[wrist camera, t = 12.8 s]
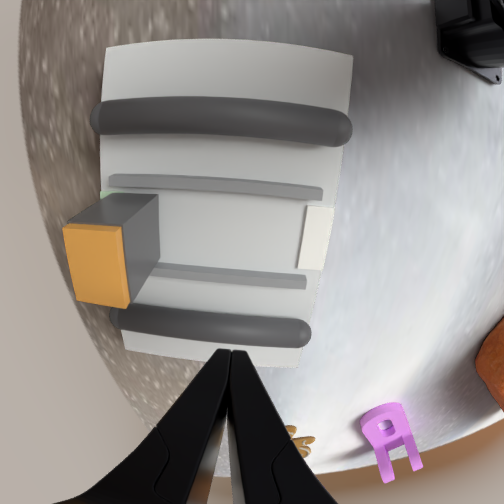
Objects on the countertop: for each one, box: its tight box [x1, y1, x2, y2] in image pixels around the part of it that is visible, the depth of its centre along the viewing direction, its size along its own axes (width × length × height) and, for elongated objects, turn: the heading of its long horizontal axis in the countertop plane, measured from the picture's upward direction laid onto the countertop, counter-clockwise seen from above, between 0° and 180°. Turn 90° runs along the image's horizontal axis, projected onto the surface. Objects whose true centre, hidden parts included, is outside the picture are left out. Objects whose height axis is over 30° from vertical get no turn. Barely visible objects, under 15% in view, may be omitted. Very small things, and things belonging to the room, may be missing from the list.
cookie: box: [285, 425, 315, 458], centre depth 31 cm, size 8×1×10 cm
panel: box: [90, 39, 353, 368], centre depth 17 cm, size 14×22×4 cm, turn 175°
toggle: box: [62, 193, 160, 309], centre depth 14 cm, size 3×4×6 cm
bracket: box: [360, 403, 423, 483], centre depth 27 cm, size 13×6×7 cm, turn 31°
